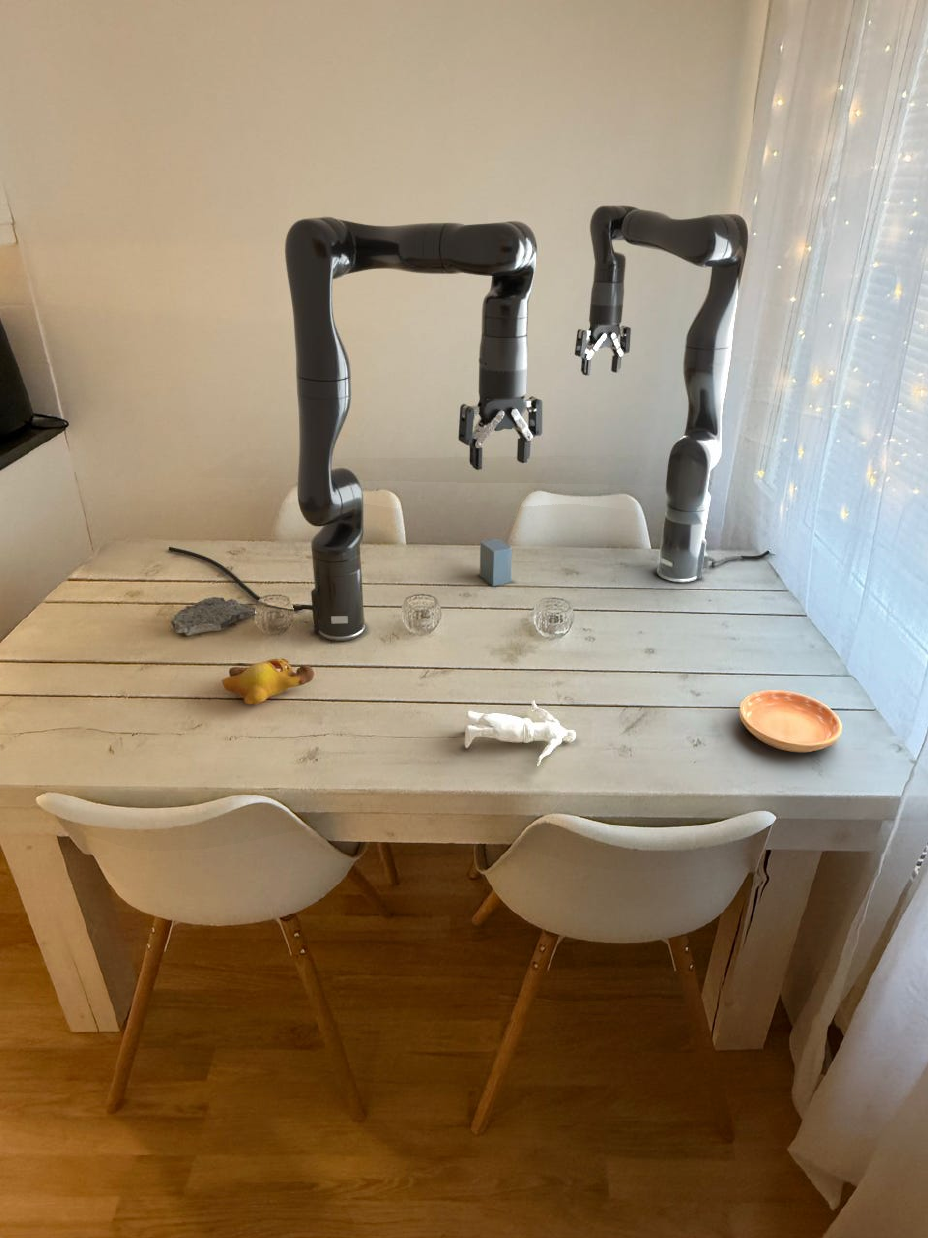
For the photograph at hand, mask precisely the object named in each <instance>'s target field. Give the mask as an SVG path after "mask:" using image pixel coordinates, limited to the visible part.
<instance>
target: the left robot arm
mask: <svg viewBox="0 0 928 1238" xmlns="http://www.w3.org/2000/svg"><path fill="white" fill-rule="evenodd" d="M284 259H285V264H286V265H285V267H286V273H287V279H288V286H289V293H290V300H291V301H290V302H291V307H292V318H293V319H292V320H293V333H294V334H293V335H294V349H295V375H296V377H295V378H296V395H297V407H298V427H299V428H298V433H299V434H298V435H299V437H298V439H299V441H298V442H299V444H298V445H299V446H298V447H299V448H298V470H297V486H296V487H297V490H296V491H297V502H298V506H299V510H300V513H301V514H302V517H303V518H304V520H305V521H306V522H307V523H308V524H310V525H311V526H312V527H313V526H314V527H319V528H320V527H321V528H320V530H319V531H318V532H317V533H316V534H315V535H314V536H313V538H312V540H311V544H310V545H311V557H312V568H313V581H314V588H313V589H312V590H311V591H310V597H311V604H303V605H302V604H301V605H292V606H293V608H294V610H293V611H300V612H301V611H303V610H305V611H306V610H307V611H312V620H313V629H314V634H315V635H318V636H320V637H321V638H323V639H325V640H328V641H331V642H332V641H333V642H345V641H346V642H347V641H351V640H355V639H358V638H359V637H360V636H362V635H363V634H364V633H365V631H366V623H365V613H364V612H365V610H364V594H363V593H364V592H363V575H362V574H363V573H362V560H361V544H362V542H363V539H364V494H363V489H362V485H361V483H360V480H359V479H358V477H357V475H356V474H355V473H354V472H352V471H351V470H350V469H348V468H346V467H336V468H332V462H333V461H332V460H333V454H334V449H335V446H336V443H337V441H338V439H339V436H340V434H341V432H342V429H343V427H344V424H345V423H346V419H347V417H348V415H349V410H350V408H351V402H352V371H351V363H350V362H351V361H350V358H349V355H348V352H347V350H346V347H345V345H344V342H343V340H342V338H341V336H340V333H339V331H338V328H337V326H336V321H335V316H334V307H333V280H336V279H339V278H342V277H344V276H345V275H349V274H355V273H359V272H364V271H371V270H381V269H382V270H396V271H402V272H407V273H414V274H427V275H428V274H429V275H457V274H467V275H475V276H482V277H484V276H485V277H491V283H490V289H489V290H488V292H487V294H486V295H485V296H484V298H483V300H482V307H481V336H480V344H479V354H478V355H479V357H478V396H479V400H478V403H477V405H468V404H466V403H463V404H461V405H460V408H459V421H458V422H459V423H458V424H459V425H458V438H457V439H458V441H459V442H461V443H462V444H464V445H466V446H469V456H468V457H469V460H468V461H469V463H470V464H469V465H471V466H472V468H473V469H475V470H476V471H481V470H482V469H483V450H484V449H483V447H482V446H483V445H484V443H485V441H486V440H487V438H489V437H490V436H492V433H493V432H494V431H495V432H500V431H503V430H509V431H510V430H513V429H514V430H515V432H516V433H517V435H518V436H519V438H517V446H516V447H517V448H516V449H517V451H516V453H517V454H516V460H517V462H519V463H521V464H526V463H528V460H529V459H530V457H531V443H532V442H531V441H532V440H533V438H535V437H540V436H542V435H543V400H542V399H540V398H538V397H535V396H529V398H528V399H526V394H527V385H528V383H527V382H528V363H529V362H528V361H529V345H528V344H529V343H528V327H529V326H528V323H529V300H530V297H531V293H532V289H533V283H534V278H535V273H536V268H537V262H538V245H537V240H536V236H535V233H534V232H533V230H532V228H531V227H530V226H529V225H527V224H526V223H524V222H522V221H519V220H511V221H510V220H509V221H500V222H491V223H490V222H488V223H473V224H463V223H460V222H459V223H458V222H425V223H424V222H423V223H408V224H399V225H374V224H365V223H360V222H354V221H349V220H345V219H340V218H335V217H332V216H321V217H320V216H319V217H309V218H302V219H301V218H300V219H298V220H297V221H295V222H294V223H293V224H292V225H291V226H290V228H289V229H288V231H287V234H286V237H285V242H284ZM525 411H527V413H528V416H527V418H528V419H527V421H528V422H527V423H528V424H527V423H526V422H525V420H524V418H523V417H522V416H523V414H525ZM477 415H479V417H480V418H479V419H478V421H477V422H476V424H475V426H474V422H475V421H474V420H476V419H477ZM168 551H169V552H173V553H178V554H182V555H186V556H190V557H193V558H196V559H199V560H202V561H205V562H207V563H208V564H211V565H213V566H214V567H217V568H218V569H219V570H222V571H223V572H224V573H225V574H226V575H228V576H229V577H230V578H231V579H232V580H233V581H234V582H235V583H236V584H237V585H238V586H239V587H241V588H242V590H244V591H245V592H246V593H247V594H248V595H249V596H251V597H252V599H254V600H256V601H257V602H259V601H258V600H259V599H260V598H262V597H261V596H259V595H257V594H256V593H255V592H254V591H253V590H252V589H251V588H250V587H248V586H247V585H246V584H245V583H244V582H243V581H242V580H241V579H240V578H238V577H237V575H235V574H234V573H233V572H232V571H230V570H229V569H228V568H227V567H225V566H224V565H222V564H221V563H219V562H218V561H216V560H214V559H211V558H210V557H207V556H204V555H202V554H199V553H196V552H193V551H190V550H186V549H181V548H177V547H173V546H169V547H168Z"/></svg>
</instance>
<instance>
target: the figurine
mask: <svg viewBox="0 0 928 1238" xmlns="http://www.w3.org/2000/svg"><path fill="white" fill-rule="evenodd" d="M529 707H530V708H531V711H530V713H532V712H535V713H536V714H537V716H538V717H539V719H541V720H543V721H544V722H532V720H531V719H530V718H528V717H522V718H521V717H518V716H514V715H510V714H504V713H496V712H495V713H493V712H490V714H489V713H487V714H486V713H482V712H475V711H472V710H471V711H470V710H468V711H467V712H466V719H465V724H464V732H465V734H464V747H465V748H466V749H468V748H469V747H470V745H471V744H472V742H473V740H474V739H475V738H482V737H483V738H484V737H485V738H492V739H495V740H498V741H499V742H509V743H522V742H523V743H525V744H530V743H531V742H533V741H544V742H547V743H548V744H547V745H546V746H545V748H544V749H543V751H542V752H541V754H540V755H539V757H538V758H537V762H536V767H539V766H540V765H541V761H542V760H543V758H545V757H547V756H549V755H550V754H551V753H552V751H553V750H554V749H555V748H556V747H557V746H559V745H561V744H562V742H563V741H565V742H570V743H571V742H574V740H575V739H576V738H577V737H576V736H577V734H576V732H575V730H574V729H565V727H563V726H561V725H560V722H559V720H558V719H557V718H554V717H553V715H552V714H550V713H549V712H548V711H547V710H545V709H543V708H541V707H538V706H537V703H535V700H534V699H533V700H532V702H531V705H530V706H529ZM476 725H477V726H484V727H477V726H476Z"/></svg>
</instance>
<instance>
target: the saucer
mask: <svg viewBox="0 0 928 1238" xmlns="http://www.w3.org/2000/svg"><path fill="white" fill-rule="evenodd" d="M739 718H740V721H741V722H742V724H743V726H744V727H745V728H746V729H747V730H748V732H750V734H752V735H753V736H754V737H755V738H756V739H757V740H759V741H761V742H762V743H764V744H766V745H768V746H770V747H772V748H773V749H777V750H778V749H779V750H781V751H785V752H791V753H812V752H815V751H820V750H822V749H823V750H824V749H826V748H828V747H830V746H832V745H834V744H835V743H837V741H838V740H839V738H840V736H841V734H842V732H843V731H842V730H843V726H842V721H841V719H840V718H839V716H838V714H836V712H835V711H833V710H832V709H831V708H830V707H828V706H827V705H826V704H824V703H822V702H821V701H819V700H817V699H814V698H812V697H810V696H808V695H804V694H800V693H798V692H792V691H788V690H787V691H786V690H777V689H776V690H775V689H773V690H762V691H757V692H753V693H751V694H749V695H747V696H746V697H745V698H743V700H742V701H741V702H740V705H739Z"/></svg>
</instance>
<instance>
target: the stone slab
mask: <svg viewBox="0 0 928 1238" xmlns="http://www.w3.org/2000/svg"><path fill="white" fill-rule="evenodd" d="M255 610H256V607H255V606H253V605H252V604H246V603H243V604H241V603H239V601H237V600H236V599H232V598H231V599H228V600H226V599H225V598H224V597H217V596H212V597H208V598H203V600H200V601H198V602H196V603H195V604H193V605H186V606H185V607H184V608H183V609H180V610H179V611H178V612H177V613H176V614H174V615H173V617H172V619H171V621H170V623H171V626H173V629H174V633H177V634H182V635H184V636H186V637H187V636H194V635H197V634H201V633H207V632H216V631H218V632H219V631H222V630H224V629H225V628H227V627H228V626H229V625H230V624H232V623H233V622H236V621H239V620H245V619H246V618H248V617H252V616H255V615H256V614H255Z"/></svg>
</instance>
